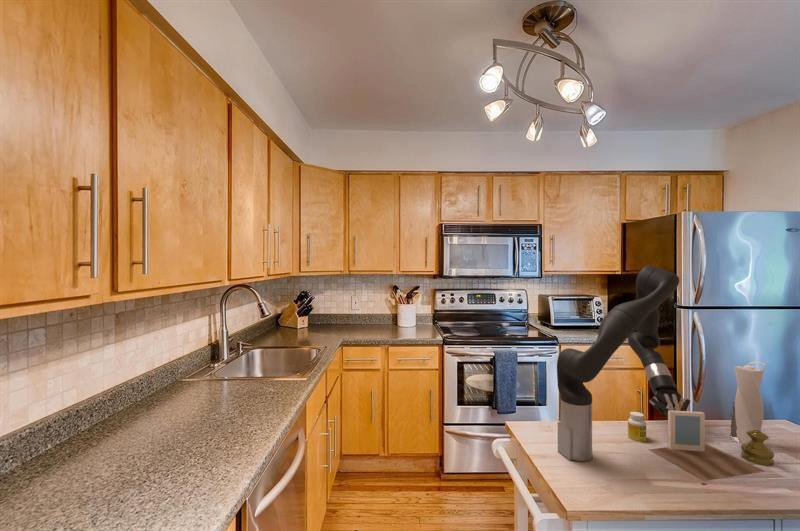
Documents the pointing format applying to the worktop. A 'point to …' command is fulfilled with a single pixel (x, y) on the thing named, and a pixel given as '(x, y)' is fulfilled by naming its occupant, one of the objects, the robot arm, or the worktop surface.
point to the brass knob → (757, 449)
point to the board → (707, 462)
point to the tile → (686, 430)
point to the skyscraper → (747, 402)
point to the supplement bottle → (637, 427)
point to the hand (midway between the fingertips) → (679, 427)
